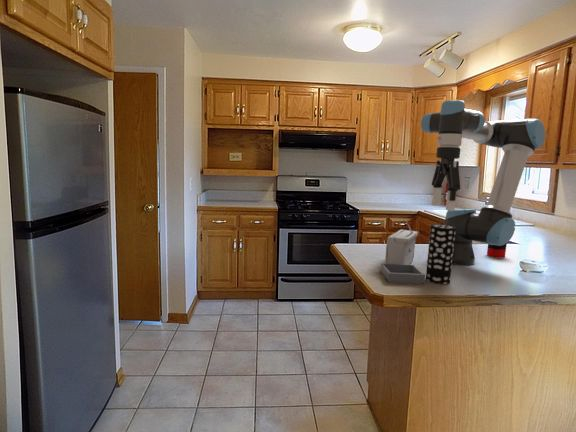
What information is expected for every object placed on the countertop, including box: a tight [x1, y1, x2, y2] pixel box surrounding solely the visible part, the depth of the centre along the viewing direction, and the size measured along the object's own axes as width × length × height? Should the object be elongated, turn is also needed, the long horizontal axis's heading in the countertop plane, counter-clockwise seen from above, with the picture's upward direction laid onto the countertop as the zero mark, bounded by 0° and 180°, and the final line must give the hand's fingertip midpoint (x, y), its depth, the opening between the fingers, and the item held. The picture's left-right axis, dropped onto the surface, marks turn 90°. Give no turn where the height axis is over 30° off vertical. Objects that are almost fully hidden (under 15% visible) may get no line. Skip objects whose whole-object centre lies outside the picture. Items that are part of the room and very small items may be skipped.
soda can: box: [486, 242, 508, 259], centre depth 178 cm, size 8×8×12 cm
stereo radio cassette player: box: [384, 220, 419, 265], centre depth 156 cm, size 21×8×20 cm, turn 150°
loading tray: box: [379, 263, 426, 285], centre depth 139 cm, size 13×13×4 cm
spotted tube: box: [425, 224, 456, 285], centre depth 136 cm, size 8×8×20 cm
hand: (442, 207), depth 134 cm, fingers open, 13 cm apart
